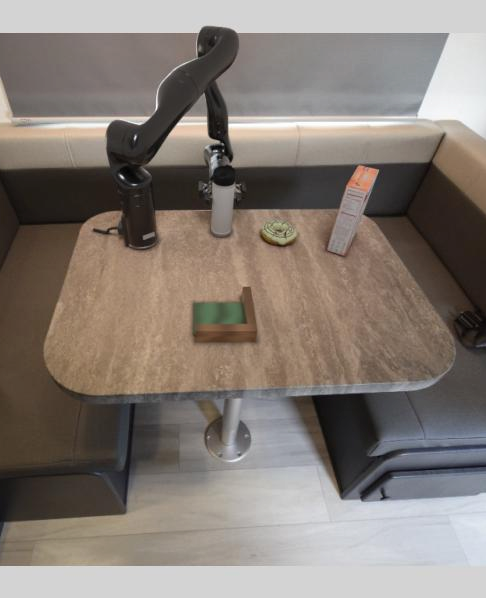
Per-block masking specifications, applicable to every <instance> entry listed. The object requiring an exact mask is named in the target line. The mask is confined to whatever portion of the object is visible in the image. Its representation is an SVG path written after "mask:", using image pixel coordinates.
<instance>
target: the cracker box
mask: <svg viewBox="0 0 486 598" xmlns="http://www.w3.org/2000/svg"><path fill="white" fill-rule="evenodd" d="M379 172H380V169H377V168H374V167H368V166H366V165H358V166H357V167H356V169H355V170H354V172H353V174H352V176H351V178H349V180H348V183H347V184H346V186H345V189H344V192H343V194H342V198H341V201H340V205H339V208H338V211H337V214H336V217H335V221H334V224H333V227H332V230H331V234H330V237H329V240H328V244H327V246H326V249H325V250H326V251H327V252H330V253H333V254H335V255H339V256H342V257H346V255H347V253H348V251H349V248H350V246H351V244H352V242H353V240H354V238H355V236H356V234H357V230H358V229H359V226H360V223H361V220H362V218H363V215H364V212H365V210H366V207H367V204H368V202H369V199H370V197H371V194H372V191H373V189H374V185H375V183H376V180H377V177H378V174H379Z"/></svg>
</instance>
